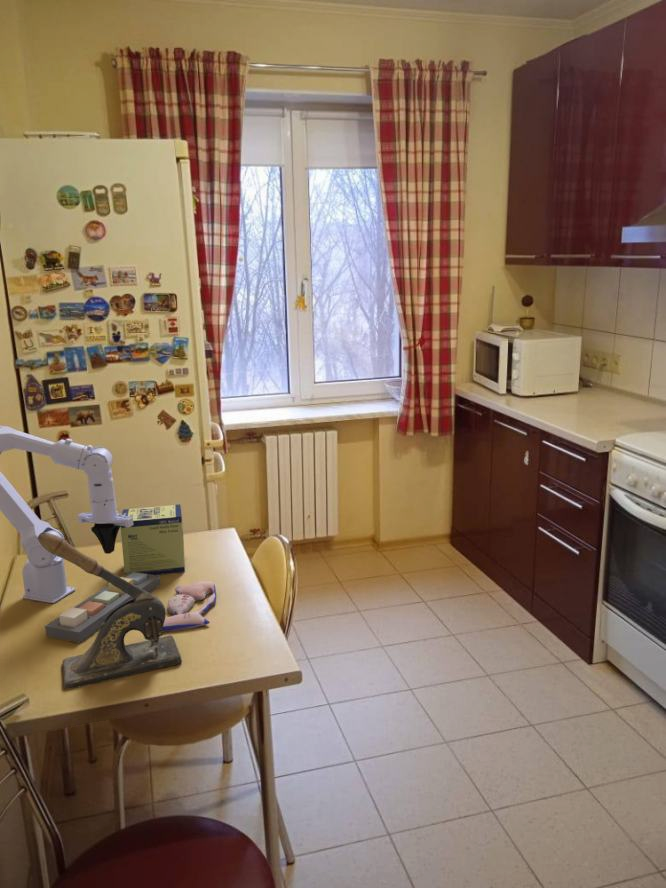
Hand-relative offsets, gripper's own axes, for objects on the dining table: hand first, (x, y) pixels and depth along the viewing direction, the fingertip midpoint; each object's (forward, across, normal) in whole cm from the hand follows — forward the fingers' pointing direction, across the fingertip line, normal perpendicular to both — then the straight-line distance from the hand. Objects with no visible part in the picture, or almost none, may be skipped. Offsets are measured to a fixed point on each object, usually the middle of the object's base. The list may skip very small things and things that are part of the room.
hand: (109, 552), depth 170 cm
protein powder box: (+11, -1, -16) cm, 19 cm away
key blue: (+10, -4, -3) cm, 11 cm away
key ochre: (+9, -4, +3) cm, 10 cm away
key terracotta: (+10, -4, +14) cm, 18 cm away
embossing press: (+11, -22, +28) cm, 37 cm away
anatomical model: (+12, -22, +3) cm, 25 cm away
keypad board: (+10, -4, +8) cm, 14 cm away
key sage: (+10, -4, +8) cm, 14 cm away
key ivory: (+9, -4, +19) cm, 22 cm away
